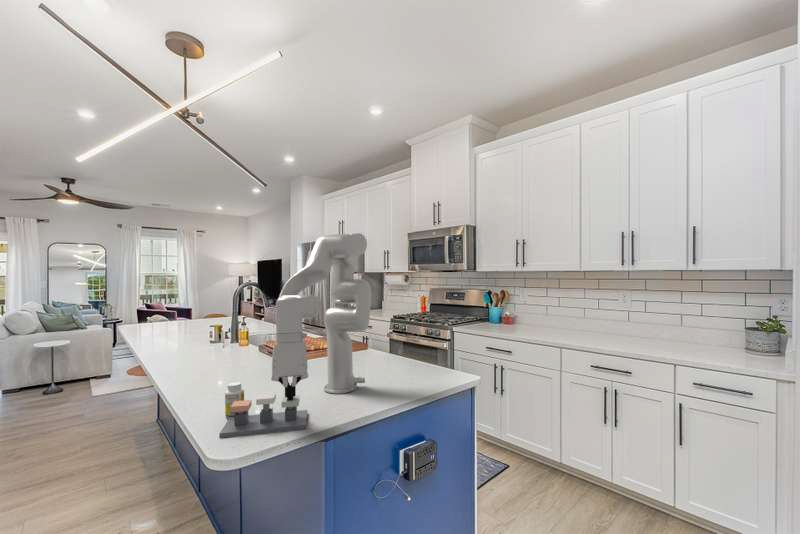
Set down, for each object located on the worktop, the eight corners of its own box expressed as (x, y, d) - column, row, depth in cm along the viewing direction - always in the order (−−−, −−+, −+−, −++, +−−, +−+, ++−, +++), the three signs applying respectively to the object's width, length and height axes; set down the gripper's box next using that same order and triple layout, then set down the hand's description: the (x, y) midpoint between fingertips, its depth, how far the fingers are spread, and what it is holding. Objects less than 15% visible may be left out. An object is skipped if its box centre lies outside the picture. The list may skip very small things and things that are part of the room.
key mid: (275, 408, 113) (275, 392, 113) (273, 413, 109) (273, 397, 109) (259, 409, 112) (259, 394, 112) (256, 415, 108) (256, 399, 108)
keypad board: (307, 413, 119) (307, 400, 119) (305, 428, 107) (305, 414, 107) (230, 421, 114) (230, 407, 114) (219, 437, 102) (219, 422, 102)
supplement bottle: (239, 411, 122) (238, 380, 122) (247, 415, 118) (247, 383, 118) (222, 416, 118) (221, 384, 118) (230, 421, 114) (229, 387, 114)
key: (251, 415, 112) (251, 399, 112) (248, 421, 107) (248, 405, 107) (234, 416, 111) (234, 401, 111) (230, 423, 106) (230, 406, 106)
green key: (299, 410, 115) (299, 395, 115) (298, 416, 110) (298, 400, 110) (283, 412, 114) (283, 397, 114) (281, 418, 109) (281, 402, 109)
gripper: (315, 334, 117) (316, 393, 117) (265, 337, 114) (266, 397, 114) (314, 338, 110) (315, 401, 109) (261, 341, 107) (262, 405, 106)
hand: (290, 398), depth 112 cm, fingers closed
